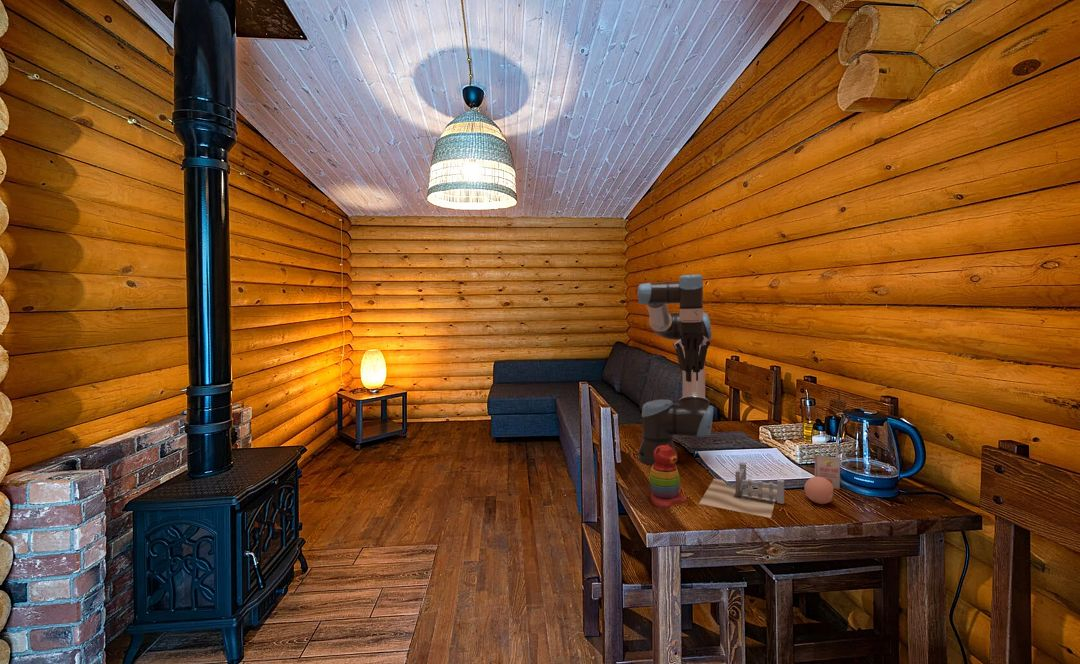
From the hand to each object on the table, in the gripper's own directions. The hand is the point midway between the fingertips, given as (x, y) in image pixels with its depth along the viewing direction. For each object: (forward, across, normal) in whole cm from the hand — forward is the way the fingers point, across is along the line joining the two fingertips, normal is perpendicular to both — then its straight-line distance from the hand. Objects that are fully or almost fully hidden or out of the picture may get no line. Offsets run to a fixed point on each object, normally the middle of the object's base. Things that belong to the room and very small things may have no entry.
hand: (692, 390), depth 157 cm
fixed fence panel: (+32, +11, -10) cm, 35 cm away
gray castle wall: (+31, +13, -19) cm, 39 cm away
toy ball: (+33, +28, -24) cm, 49 cm away
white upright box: (+33, +40, -15) cm, 54 cm away
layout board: (+32, +7, -14) cm, 36 cm away
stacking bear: (+33, -15, -9) cm, 37 cm away
